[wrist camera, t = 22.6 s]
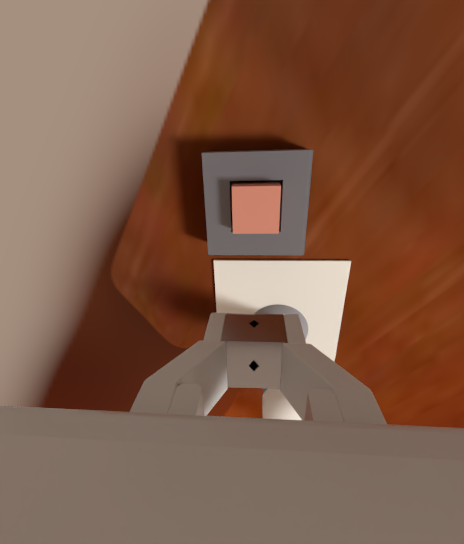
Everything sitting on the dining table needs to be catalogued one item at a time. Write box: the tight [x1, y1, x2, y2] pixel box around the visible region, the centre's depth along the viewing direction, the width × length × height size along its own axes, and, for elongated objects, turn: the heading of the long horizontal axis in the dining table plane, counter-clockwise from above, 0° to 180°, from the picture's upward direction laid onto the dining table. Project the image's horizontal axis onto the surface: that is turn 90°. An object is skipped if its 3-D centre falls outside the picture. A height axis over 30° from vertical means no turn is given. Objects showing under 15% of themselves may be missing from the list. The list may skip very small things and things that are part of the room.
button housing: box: [202, 149, 313, 255], centre depth 29 cm, size 10×10×4 cm
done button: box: [232, 181, 281, 234], centre depth 27 cm, size 4×4×3 cm
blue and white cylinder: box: [262, 388, 302, 420], centre depth 31 cm, size 5×5×13 cm
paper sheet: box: [214, 260, 351, 361], centre depth 37 cm, size 20×16×1 cm
